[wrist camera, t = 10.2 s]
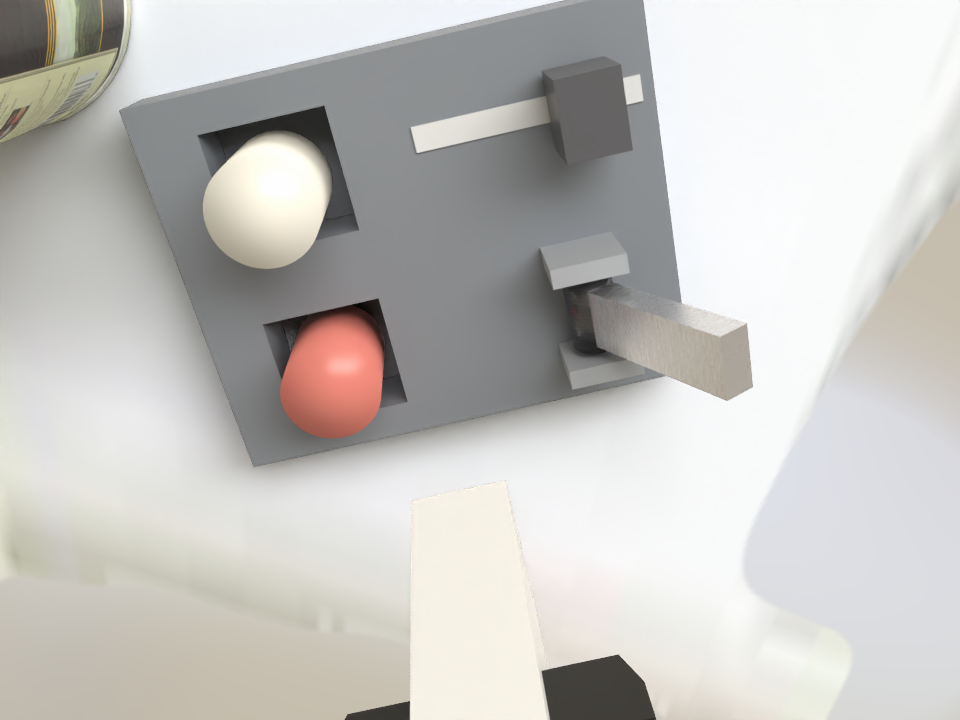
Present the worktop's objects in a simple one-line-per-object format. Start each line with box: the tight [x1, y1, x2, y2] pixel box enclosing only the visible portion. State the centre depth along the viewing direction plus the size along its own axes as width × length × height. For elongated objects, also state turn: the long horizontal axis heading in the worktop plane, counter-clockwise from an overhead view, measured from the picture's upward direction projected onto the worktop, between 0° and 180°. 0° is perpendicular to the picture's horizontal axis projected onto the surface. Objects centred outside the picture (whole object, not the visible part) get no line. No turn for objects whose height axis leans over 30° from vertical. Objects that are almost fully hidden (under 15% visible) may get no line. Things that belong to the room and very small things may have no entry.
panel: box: [119, 0, 681, 467], centre depth 36 cm, size 20×16×6 cm
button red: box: [280, 305, 385, 438], centre depth 38 cm, size 4×4×5 cm
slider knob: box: [542, 56, 633, 165], centre depth 32 cm, size 2×3×3 cm
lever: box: [563, 277, 753, 401], centre depth 33 cm, size 2×3×9 cm, turn 11°
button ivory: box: [203, 130, 333, 269], centre depth 33 cm, size 4×4×5 cm
